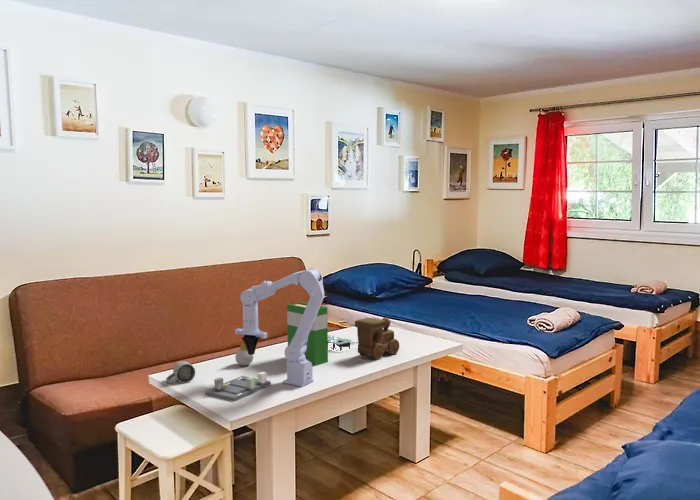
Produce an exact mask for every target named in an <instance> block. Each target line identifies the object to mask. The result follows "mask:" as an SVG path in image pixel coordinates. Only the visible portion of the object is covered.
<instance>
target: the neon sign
mask: <svg viewBox="0 0 700 500" xmlns="http://www.w3.org/2000/svg"><path fill="white" fill-rule="evenodd" d="M331 340H332V341H331ZM335 342H336V343H335ZM328 343H333V348H332V347H331V349H333V350H334V348H335V344H336V345H337V346H339V347H340V351H341V350H342V347H349V349H350V344H353V343H354V341H352V340H351V339H349V338H345V337H344V338H343V337H339V336H337V337H336V336H335V335H333V336H331V335H328ZM335 349H336V348H335ZM329 351H330V352H331V351H332V350H329ZM329 351H328V352H329ZM333 353H336V352H335V351H334V352H333Z"/></svg>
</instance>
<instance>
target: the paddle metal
mask: <svg viewBox="0 0 700 500" xmlns="http://www.w3.org/2000/svg"><path fill="white" fill-rule="evenodd" d="M213 382H214V387H212V388H211V389H213V390H217V391H221V390H223V389H226V387H224V386H223V383H224V378H223V377H217V378H215V379H214V381H213Z"/></svg>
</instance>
